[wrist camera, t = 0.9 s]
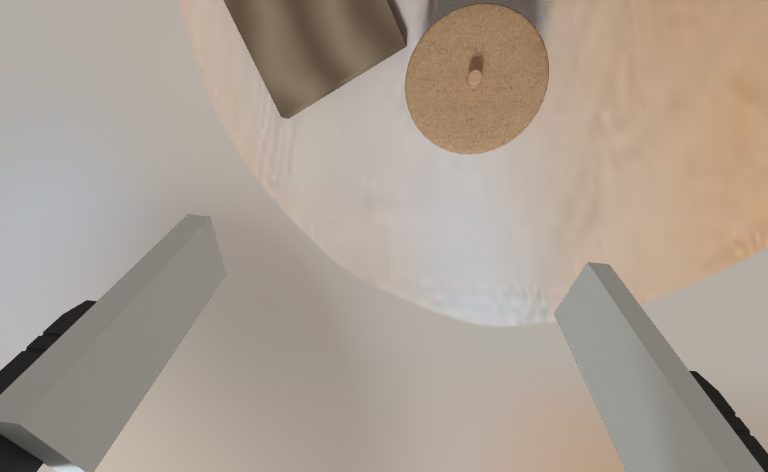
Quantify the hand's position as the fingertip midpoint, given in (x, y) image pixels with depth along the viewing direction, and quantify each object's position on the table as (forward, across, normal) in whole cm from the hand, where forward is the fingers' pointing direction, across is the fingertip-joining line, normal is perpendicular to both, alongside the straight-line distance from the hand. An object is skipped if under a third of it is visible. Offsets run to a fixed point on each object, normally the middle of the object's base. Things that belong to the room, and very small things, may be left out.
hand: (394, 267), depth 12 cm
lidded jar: (+26, +6, 0) cm, 26 cm away
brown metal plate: (+31, -11, +6) cm, 33 cm away
